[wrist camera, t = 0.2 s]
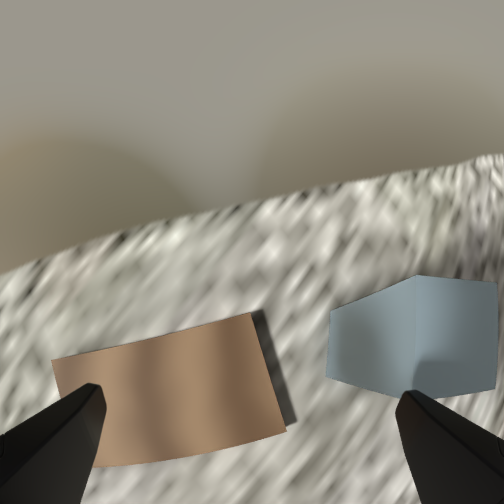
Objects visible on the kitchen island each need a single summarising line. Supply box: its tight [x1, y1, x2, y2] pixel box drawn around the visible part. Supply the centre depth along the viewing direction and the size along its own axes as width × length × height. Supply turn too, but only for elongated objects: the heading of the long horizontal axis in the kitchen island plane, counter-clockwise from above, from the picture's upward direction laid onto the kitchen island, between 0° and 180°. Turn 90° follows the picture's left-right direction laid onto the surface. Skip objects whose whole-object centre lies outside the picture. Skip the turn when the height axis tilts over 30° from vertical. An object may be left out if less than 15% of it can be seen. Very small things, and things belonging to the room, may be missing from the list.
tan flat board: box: [51, 312, 287, 468], centre depth 20 cm, size 16×9×1 cm, turn 106°
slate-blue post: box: [326, 275, 498, 399], centre depth 17 cm, size 5×5×12 cm
